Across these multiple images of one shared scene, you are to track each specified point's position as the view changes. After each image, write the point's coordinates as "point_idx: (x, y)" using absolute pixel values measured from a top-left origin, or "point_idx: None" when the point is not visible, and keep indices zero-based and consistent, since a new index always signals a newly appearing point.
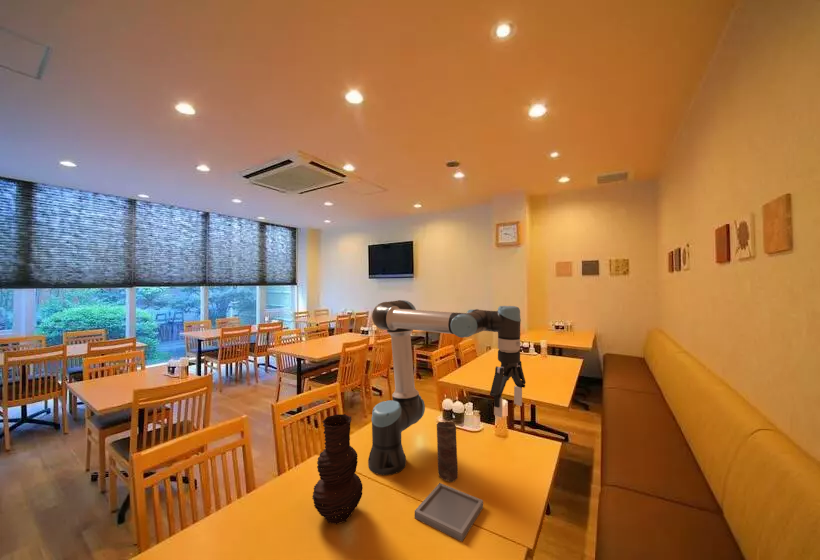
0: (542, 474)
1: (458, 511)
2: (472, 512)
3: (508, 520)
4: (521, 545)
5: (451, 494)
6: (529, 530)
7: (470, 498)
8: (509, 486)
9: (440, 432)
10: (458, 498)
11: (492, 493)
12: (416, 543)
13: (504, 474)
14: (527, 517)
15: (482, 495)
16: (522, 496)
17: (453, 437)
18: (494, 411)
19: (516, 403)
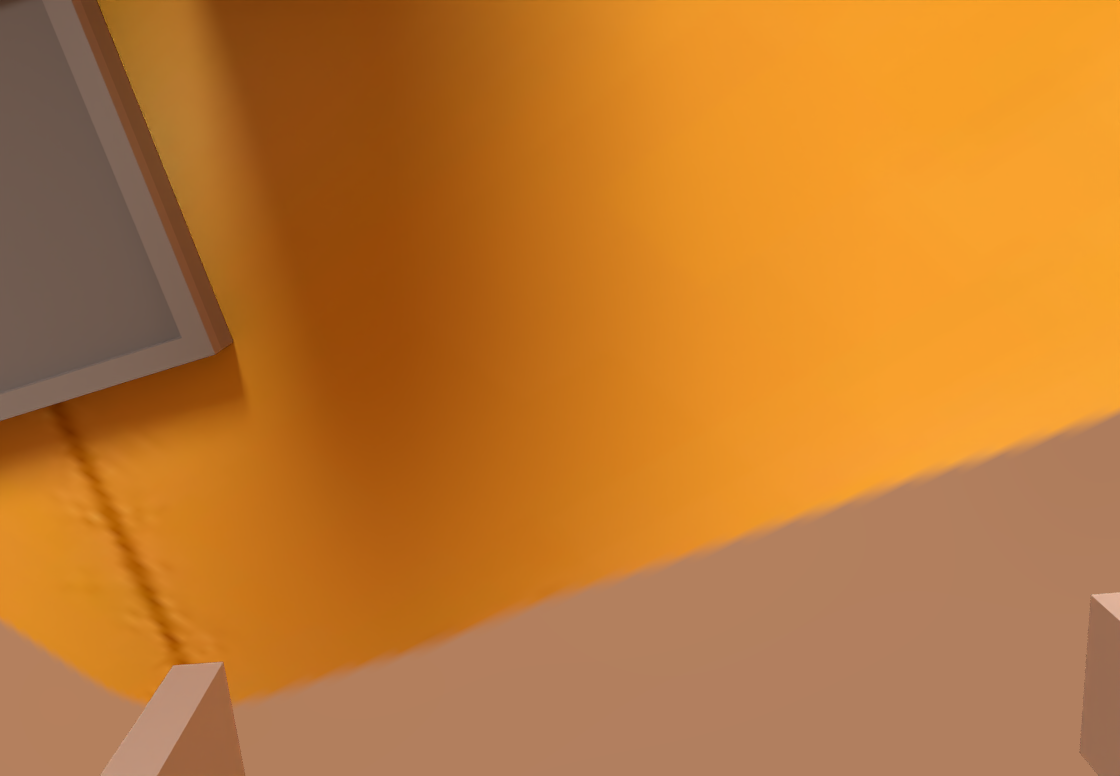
0: (967, 416)
1: None
2: (47, 385)
3: (284, 529)
4: None
5: (67, 110)
6: (325, 655)
7: (155, 265)
8: (606, 326)
9: None
10: (85, 187)
11: (420, 289)
12: None
13: (720, 200)
14: (414, 591)
15: (334, 251)
16: (578, 459)
17: None
18: (145, 721)
19: (1099, 668)
